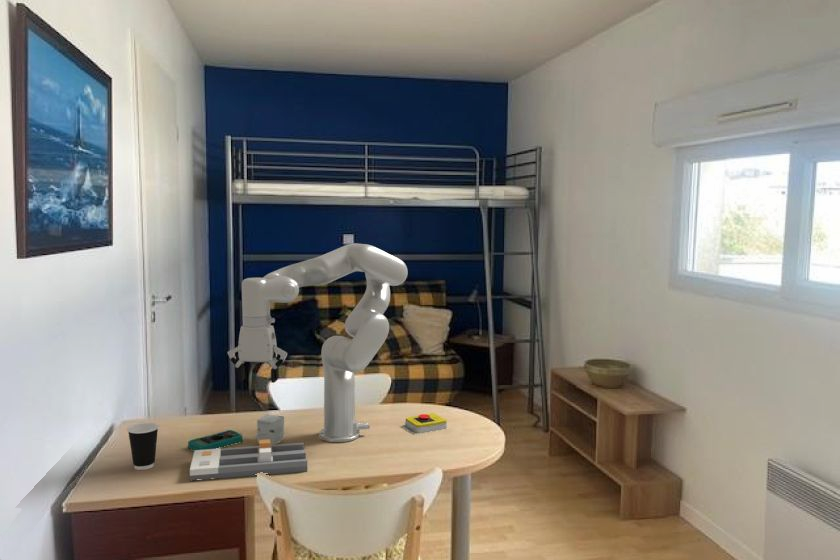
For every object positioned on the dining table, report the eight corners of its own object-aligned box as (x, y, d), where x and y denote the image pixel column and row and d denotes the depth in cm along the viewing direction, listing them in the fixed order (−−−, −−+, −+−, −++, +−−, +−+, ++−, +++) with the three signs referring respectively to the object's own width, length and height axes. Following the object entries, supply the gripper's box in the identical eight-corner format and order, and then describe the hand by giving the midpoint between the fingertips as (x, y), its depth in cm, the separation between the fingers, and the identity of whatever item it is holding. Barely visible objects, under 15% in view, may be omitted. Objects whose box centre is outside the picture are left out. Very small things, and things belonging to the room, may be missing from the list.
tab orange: (271, 451, 182) (271, 438, 182) (272, 455, 178) (272, 442, 178) (257, 452, 181) (257, 439, 181) (257, 456, 177) (257, 444, 177)
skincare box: (256, 443, 193) (256, 419, 193) (267, 436, 199) (267, 413, 198) (274, 445, 191) (274, 421, 191) (284, 438, 197) (284, 415, 196)
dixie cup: (166, 464, 176) (165, 425, 175) (141, 474, 169) (140, 434, 168) (146, 458, 180) (145, 420, 178) (121, 468, 173) (120, 428, 172)
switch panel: (303, 452, 186) (303, 441, 186) (307, 471, 172) (307, 459, 172) (194, 461, 178) (194, 449, 178) (190, 481, 165) (189, 469, 165)
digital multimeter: (244, 443, 194) (244, 433, 194) (199, 456, 183) (199, 446, 183) (232, 437, 199) (231, 428, 199) (187, 449, 188) (186, 439, 188)
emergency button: (400, 414, 210) (439, 408, 218) (400, 427, 211) (439, 421, 218) (413, 422, 202) (453, 416, 210) (413, 436, 203) (453, 429, 210)
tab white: (272, 460, 175) (272, 447, 175) (273, 465, 172) (272, 452, 171) (257, 461, 174) (257, 448, 174) (257, 466, 171) (257, 453, 170)
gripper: (290, 320, 183) (291, 378, 184) (232, 318, 185) (234, 376, 187) (281, 324, 175) (282, 385, 177) (221, 323, 177) (223, 383, 179)
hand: (258, 380), depth 182 cm, fingers open, 9 cm apart
